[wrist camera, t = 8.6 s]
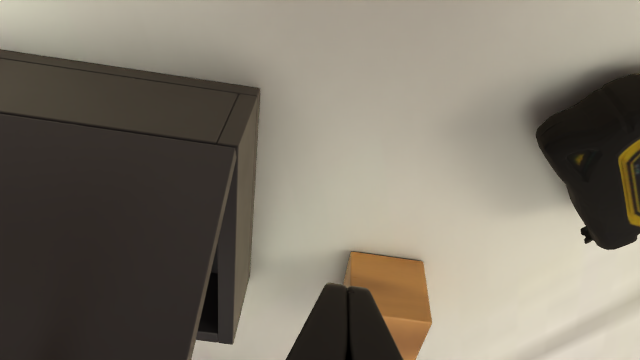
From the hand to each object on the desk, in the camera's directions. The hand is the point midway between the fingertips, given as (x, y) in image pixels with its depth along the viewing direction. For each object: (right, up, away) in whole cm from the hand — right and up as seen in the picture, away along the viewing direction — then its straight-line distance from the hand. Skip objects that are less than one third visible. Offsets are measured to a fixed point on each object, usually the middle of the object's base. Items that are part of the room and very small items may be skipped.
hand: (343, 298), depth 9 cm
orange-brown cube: (+3, -4, +19) cm, 19 cm away
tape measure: (+13, +4, +12) cm, 18 cm away
